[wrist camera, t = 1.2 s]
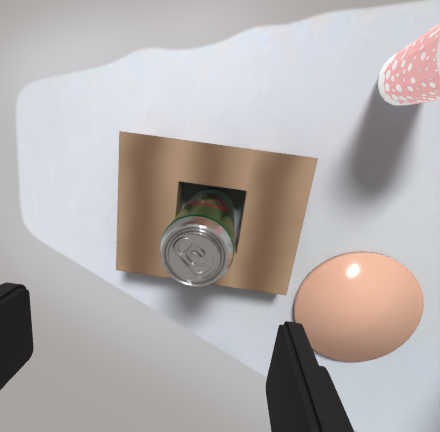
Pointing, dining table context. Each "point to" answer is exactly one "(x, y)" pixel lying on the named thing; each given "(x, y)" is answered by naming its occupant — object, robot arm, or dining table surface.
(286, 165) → the pocket board
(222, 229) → the soda can
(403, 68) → the beverage cup
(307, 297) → the peach domed disc
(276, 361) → the robot arm
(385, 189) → the dining table surface
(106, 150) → the dining table surface
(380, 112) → the dining table surface
